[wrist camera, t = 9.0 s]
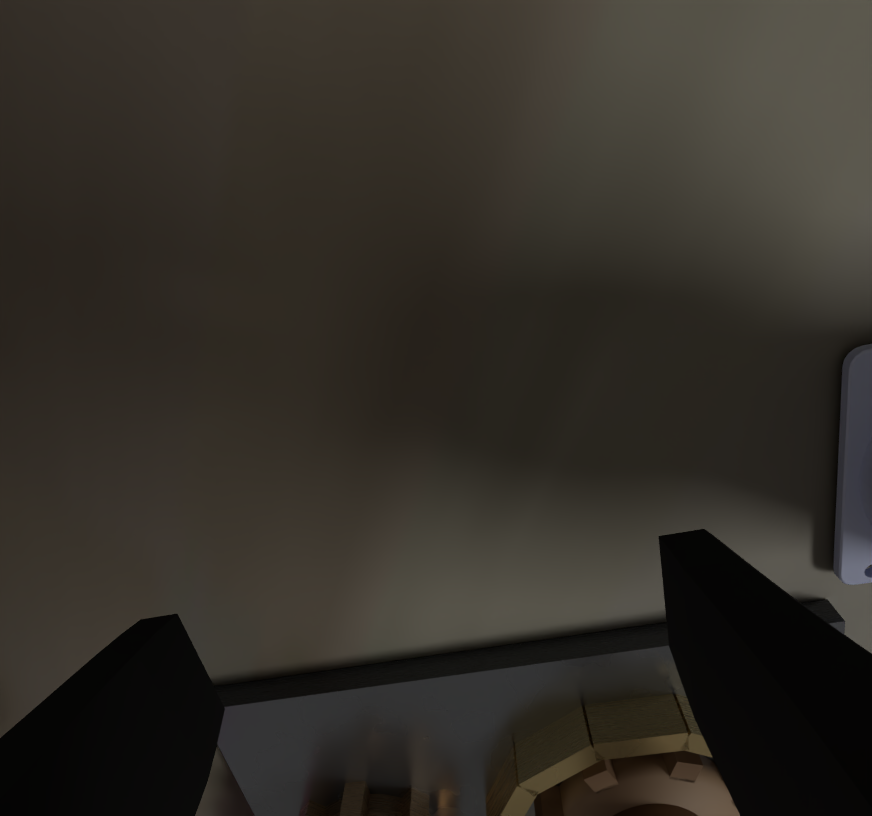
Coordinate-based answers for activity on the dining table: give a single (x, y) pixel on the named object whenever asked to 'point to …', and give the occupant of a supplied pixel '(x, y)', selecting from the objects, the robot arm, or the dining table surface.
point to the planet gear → (641, 788)
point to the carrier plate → (458, 726)
